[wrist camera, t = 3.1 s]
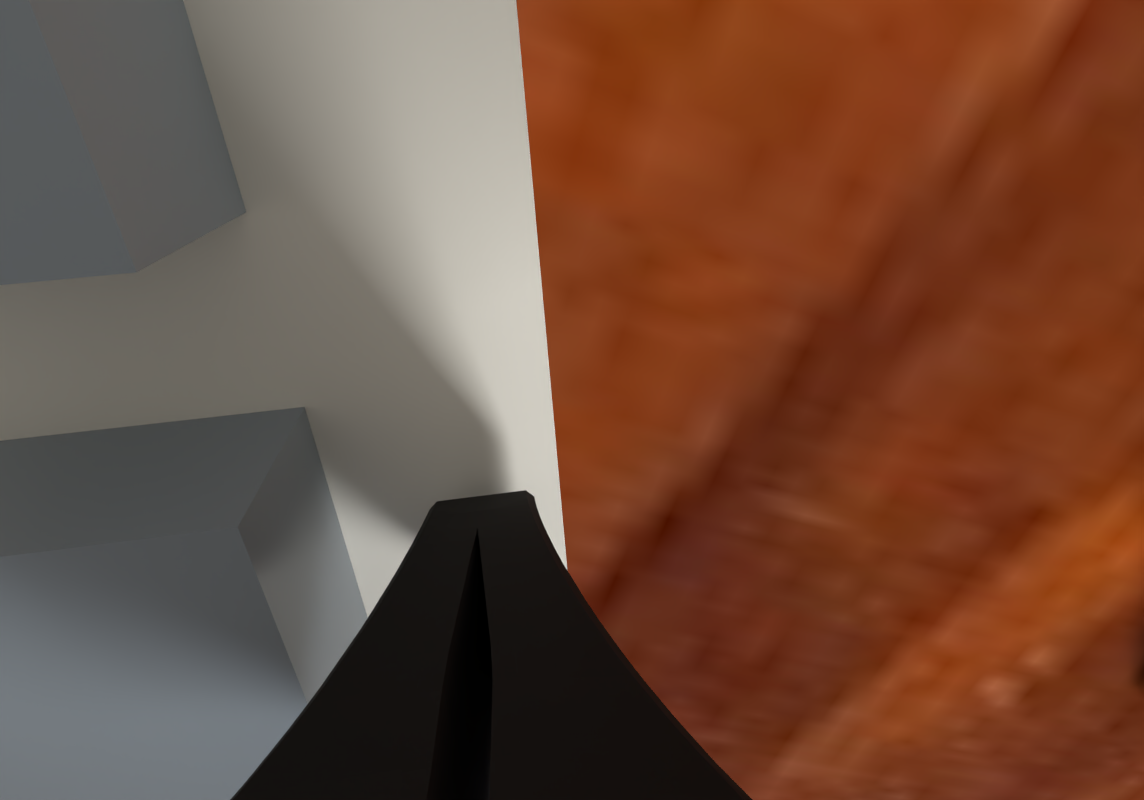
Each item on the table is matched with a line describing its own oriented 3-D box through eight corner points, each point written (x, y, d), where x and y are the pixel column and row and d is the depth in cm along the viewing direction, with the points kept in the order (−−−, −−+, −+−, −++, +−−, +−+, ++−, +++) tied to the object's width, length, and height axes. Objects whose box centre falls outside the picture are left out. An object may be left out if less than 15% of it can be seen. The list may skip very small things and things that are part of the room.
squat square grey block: (376, 646, 10) (346, 801, 8) (89, 687, 10) (-25, 861, 8) (304, 406, 8) (237, 527, 6) (-62, 447, 8) (-277, 591, 6)
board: (566, 622, 14) (580, 723, 12) (-1, 703, 13) (-101, 829, 11) (461, -464, 7) (450, -737, 4) (-864, -458, 6) (-1723, -799, 3)
